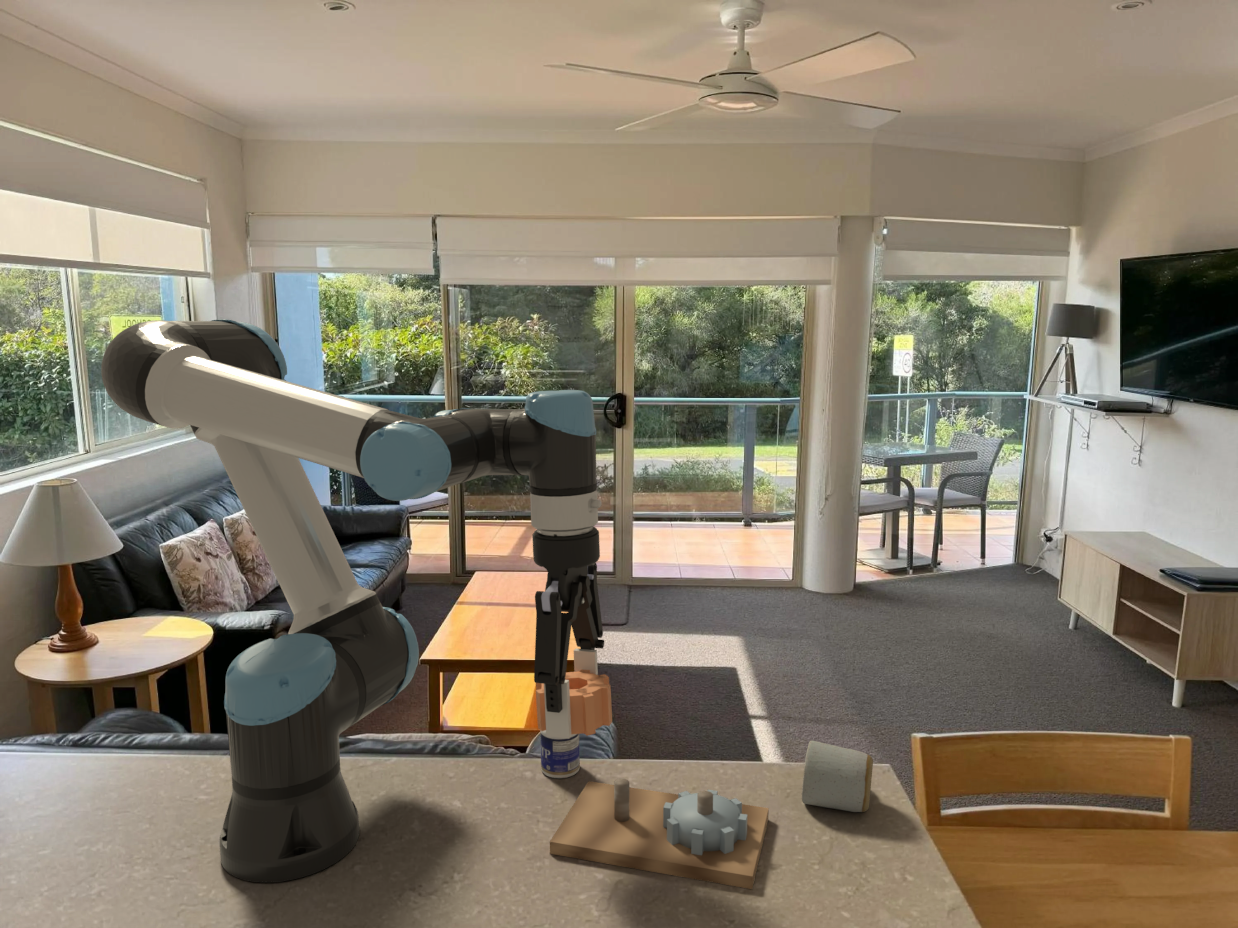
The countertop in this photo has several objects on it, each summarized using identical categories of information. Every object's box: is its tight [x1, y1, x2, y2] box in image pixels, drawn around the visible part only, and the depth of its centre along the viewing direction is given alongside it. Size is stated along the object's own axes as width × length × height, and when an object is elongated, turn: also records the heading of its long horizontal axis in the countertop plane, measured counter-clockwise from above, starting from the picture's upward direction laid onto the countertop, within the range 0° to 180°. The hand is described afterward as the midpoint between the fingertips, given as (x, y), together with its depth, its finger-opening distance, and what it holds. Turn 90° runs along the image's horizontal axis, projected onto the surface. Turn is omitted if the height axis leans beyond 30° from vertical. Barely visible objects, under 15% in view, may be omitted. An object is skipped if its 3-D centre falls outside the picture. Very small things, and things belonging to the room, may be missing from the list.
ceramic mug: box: [801, 740, 874, 813], centre depth 112 cm, size 11×8×8 cm
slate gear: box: [663, 789, 747, 855], centre depth 102 cm, size 10×10×2 cm
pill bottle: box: [539, 729, 581, 779], centre depth 119 cm, size 5×5×9 cm
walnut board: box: [549, 778, 770, 890], centre depth 104 cm, size 23×14×6 cm, turn 74°
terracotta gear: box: [535, 669, 613, 737], centre depth 102 cm, size 9×9×4 cm
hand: (573, 717), depth 103 cm, fingers closed on terracotta gear, 9 cm apart
